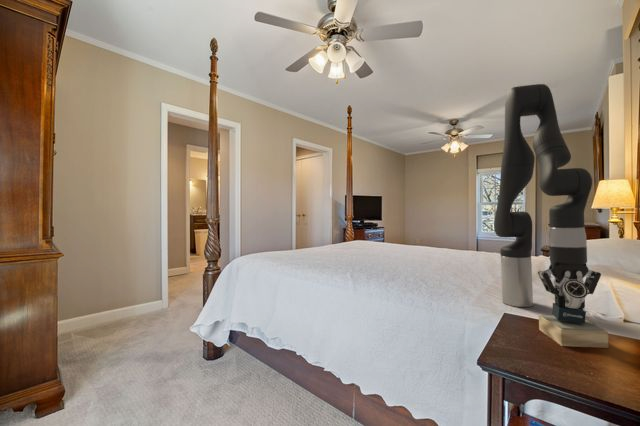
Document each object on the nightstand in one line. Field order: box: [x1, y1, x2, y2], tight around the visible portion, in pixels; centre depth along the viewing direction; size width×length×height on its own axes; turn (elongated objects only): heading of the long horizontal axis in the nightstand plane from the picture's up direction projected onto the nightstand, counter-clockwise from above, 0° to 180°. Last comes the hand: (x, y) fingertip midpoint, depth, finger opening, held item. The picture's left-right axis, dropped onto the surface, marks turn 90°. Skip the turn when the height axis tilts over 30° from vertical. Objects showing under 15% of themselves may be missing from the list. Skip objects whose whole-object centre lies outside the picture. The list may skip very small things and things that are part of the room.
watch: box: [551, 279, 589, 324], centre depth 76 cm, size 6×8×11 cm
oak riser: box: [538, 314, 609, 349], centre depth 76 cm, size 10×10×4 cm
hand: (569, 309), depth 76 cm, fingers closed on watch, 3 cm apart
